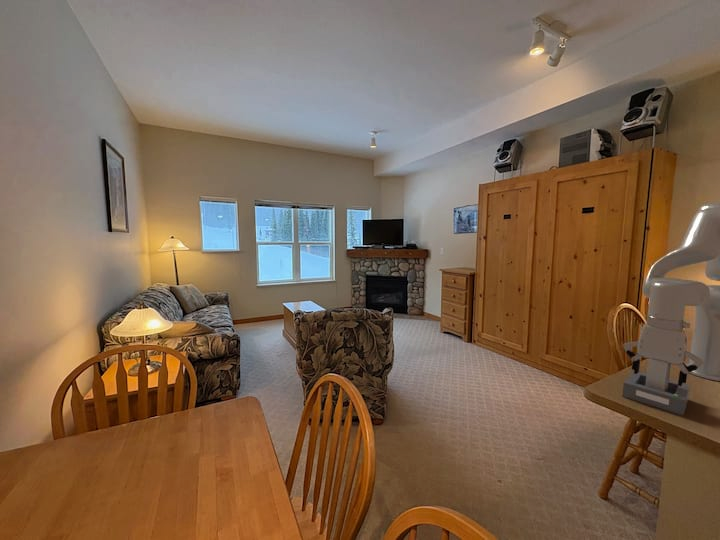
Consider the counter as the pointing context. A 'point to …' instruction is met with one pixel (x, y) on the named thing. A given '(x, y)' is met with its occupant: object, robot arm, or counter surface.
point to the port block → (657, 393)
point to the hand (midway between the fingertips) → (657, 378)
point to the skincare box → (658, 374)
